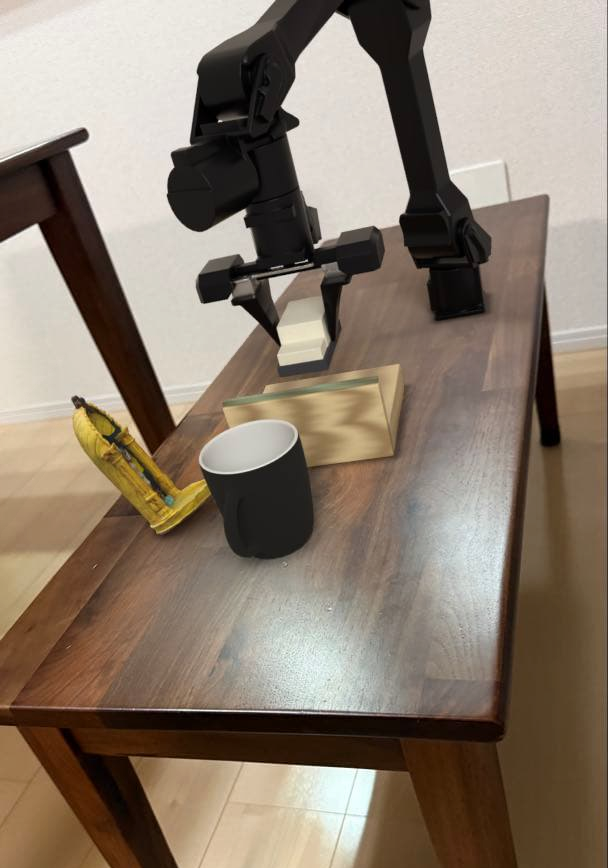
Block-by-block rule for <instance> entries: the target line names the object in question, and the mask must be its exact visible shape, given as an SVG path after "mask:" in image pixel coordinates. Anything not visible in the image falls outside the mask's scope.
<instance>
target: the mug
mask: <svg viewBox="0 0 608 868" xmlns="http://www.w3.org/2000/svg"><path fill="white" fill-rule="evenodd" d="M198 464H199V468H200V471H201V473H202V476H203V478H204V479H205V481H206V483H207V486H208V488H209V490H210V493H211V495H212V496H211V497H212V498H213V501H214V503H215V505H216V507H217V510H218V512H219V513H220V515H221V517H222V520H223V521H222V522H223V530H224V536H225V539H226V542H227V544H228V546H229V548H230V549H231V551H232V552H233V553H234V554H235V555H236V556H238V557H240V558H246V559H248V558H252V557H254V558H258V559H262V560H275V559H279V558H284V557H287V556H289V555H291V554H293V553H295V552H297V551H298V550H300V549H301V548H302V547H304V546H305V544H307V542H308V541H309V539H310V538H311V536H312V532H313V530H314V529H313V528H314V523H315V513H314V511H315V510H314V500H313V492H312V484H311V480H310V474H309V473H310V472H309V467H307V463H306V459H305V455H304V450H303V446H302V443H301V439H300V436H299V433H298V431H297V429H296V427H295V426H294V425H292V424H291V423H289V422H286V421H283V420H277V419H264V420H256V421H251V422H247V423H244V424H240V425H238V426H235V427H232V428H230V429H229V428H228V429H226V430H224V431H222V432H221V433H218V434H217V435H216V436H214V437H213V438H211V439H210V440H209V441H208V442H207V443H206V444H205V445H204V446H203V448H202V449H201V451H200V452H199V456H198ZM204 479H203V480H204Z"/></svg>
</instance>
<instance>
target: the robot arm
mask: <svg viewBox="0 0 608 868" xmlns="http://www.w3.org/2000/svg"><path fill="white" fill-rule="evenodd" d="M431 6H432V5H431V0H274V1H273V3H271V4H270V6H269V7H268V8H267V9H266V10H265V11H264V13H263V14H262V15H261V16H260V17H259V18H258V20H257V21H256V22H255V23H254V24H253V25H251V26H250V27H248V28H247V29H245V30H243V31H242V32H239V33H237V34H236V35H233V36H232V37H229V38H227V39H226V40H223V41H222V42H221V43H219V44H218V45H217V46H215V47H213V48H212V49H211V50H209V51H208V52H206V53H205V54H203V55H202V57H201V59H200V61H199V62H198V64H197V67H196V75H197V77H198V78H197V83H196V84H197V85H196V91H195V99H194V105H193V113H192V121H191V127H190V134H189V144H190V145H189V146H183V147H179V148H176V149H175V150H172V151H171V152H170V158H171V161H172V165H173V168H172V169H171V170H170V172H169V174H168V177H167V182H166V189H167V190H166V191H167V193H166V199H167V202H168V205H169V207H170V209H171V212H172V214H173V215H174V216H175V218H176V219H177V220H178V221H179V222H180V223H181V224H182V225H183V226H184V227H185V228H187V229H188V230H190V231H192V232H196V233H204V232H206V231H208V230H210V229H212V228H213V227H215V226H218V225H219V224H221V223H223V222H224V221H226V220H228V219H229V218H231V217H233V216H235V215H237V214H238V213H240V212H242V211H244V216H243V221H244V225H245V229H249V232H250V236H251V240H252V242H253V247H254V250H255V254H256V259H255V260H254V261H249V262H245V260H244V258H243V257H242V256H241V254H240V253H235V254H232V255H231V254H230V255H227V256H221V257H217V258H213V259H209V260H207V262H206V264H205V265H204V266H203V268H202V269H201V270H200V271H199V273H198V274H197V275H196V278H195V280H194V281H195V290H196V293H197V296H198V299H199V302H200V304H202V305H207V304H211V303H216V302H222V301H227V300H229V299H230V297H231V299H230V303H231V304H230V305H231V306H232V307H238V306H239V307H241V308H242V309H243V310H244V311H246V313H248V314H249V315H250V316H251V317H252V318H253V319H254V320H255V321H256V322H257V323H258V324H259V325H260V326H261V327H262V328H263V330H264V331H265V332H266V334H268V336H270V338H271V339H272V340H273V341H274V342H275V343H276V345H277V346H278V348H279V349H280V348H281V342H280V339H279V335H278V331H277V326H278V324H279V322H280V320H281V318H280V316H279V313H278V311H277V308H276V305H275V303H274V299H273V297H272V292H271V291H272V290H271V285H270V279H272V278H278V277H283V276H287V275H288V276H289V275H293V274H299V273H303V272H309V271H314V270H319V269H321V272H322V273H324V274H323V277H322V279H321V281H320V284H319V289H320V294H321V295H322V299H323V305H324V310H325V316H326V321H327V326H328V331H329V334H330V337H331V340H332V341H336V339H337V331H338V319H340V318H339V317H340V307H341V306H340V304H341V296H342V291H343V288H344V286H348V285H349V284H350V283H351V282H352V278H353V276H356V275H361V274H366V273H371V272H372V273H373V272H376V271H377V270H379V269H381V267H382V264H383V261H384V256H385V253H386V247H385V243H384V238H383V237H384V236H383V233H382V231H381V230H380V229H379V228H378V227H377V226H375V225H369V226H364V227H360V228H355V229H350V230H344V231H341V232H340V233H339V234H340V235H339V237H338V239H337V242H336V244H332V245H327V246H323V247H322V246H321V247H316V248H315V245H318V244H319V242H320V241H322V240H323V236H322V230H321V226H320V219H319V213H318V208H316V207H313V206H310V205H307V203H306V199H305V195H304V193H303V190H302V189H301V186H300V183H299V178H298V175H297V171H296V170H297V169H296V166H295V162H294V157H293V153H292V150H291V145H290V141H289V137H288V132H290V131H292V130H294V129H296V128H298V127H299V126H300V122H301V121H300V119H299V118H298V117H296V116H295V115H294V114H292V113H290V112H288V111H286V110H285V109H284V108H283V107H282V105H283V103H284V101H285V100H286V98H287V96H288V94H289V92H290V91H291V89H292V87H293V85H294V83H295V81H296V77H297V74H296V63H297V61H298V60H299V58H300V56H301V55H302V53H303V52H304V51H305V49H306V48H307V47H308V46H309V45H310V43H311V42H312V41H313V40H314V39H315V37H316V36H317V35H318V34H319V32H320V31H321V30H322V29H323V28H324V27H325V25H326V24H327V23H328V22H329V20H330V19H331V18H332V17H333V15H334V14H337V15H339V16H341V17H343V18H345V19H347V20H349V21H350V24H351V27H352V30H353V32H354V36H355V37H356V40H357V43H358V45H359V46H360V47H361V48H362V49H363V51H364V52H365V53H366V54H367V55H368V56H369V57H370V58H371V59H372V61H374V62H375V64H376V65H377V66H378V68H379V72H380V76H381V79H382V80H381V81H382V84H383V88H384V92H385V96H386V101H387V105H388V109H389V113H390V117H391V122H392V126H393V129H394V133H395V134H394V135H395V138H396V142H397V147H398V151H399V155H400V159H401V163H402V166H403V167H402V168H403V171H404V175H405V179H406V184H407V187H408V192H409V196H408V200H407V202H406V206H405V209H404V211H403V212H402V213H401V214H400V215H399V217H398V225H399V226H400V228H401V232H402V237H403V247H404V248H407V250H408V253H409V254H410V256H411V259H412V262H413V264H414V265H415V268H416V270H422V269H428V273H429V274H428V275H427V277H426V290H427V294H428V300H429V307H430V311H431V312H432V313H434V320H435V321H441V320H447V319H452V318H453V319H454V318H459V317H463V316H470V315H476V314H481V313H484V312H486V291H485V290H484V286H483V277H482V272H481V265H484V264H486V263H487V264H488V262H489V257H490V256H491V255H492V248H493V247H492V241H493V240H492V236H491V235H490V234H489V233H488V232H487V231H486V230H485V229H484V227H482V226H481V225H480V224H479V223H478V222H477V221H476V219H475V217H474V215H473V211H472V208H471V204H470V201H469V199H468V197H467V196H466V195H465V194H464V193H463V192H462V191H461V190H460V189H459V187H458V186H457V185H456V184H455V183H454V182H453V181H452V180H451V177H450V172H449V168H448V162H447V158H446V154H445V153H446V152H445V148H444V143H443V139H442V134H441V129H440V124H439V119H438V114H437V110H436V105H435V101H434V97H433V91H432V86H431V82H430V77H429V72H428V67H427V62H426V58H425V51H424V47H425V43H426V40H427V36H428V33H429V30H430V25H431V22H432V18H433V17H432V8H431Z"/></svg>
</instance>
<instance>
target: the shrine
mask: <svg viewBox="0 0 608 868" xmlns="http://www.w3.org/2000/svg"><path fill="white" fill-rule="evenodd" d="M70 401H71V403H72V405H74V407H75V408H74V410H73V412H72V417H71V421H72V428H73V431H74V434H75V437H76V439H77V441H78V443H79V445H80V447H81V449H82V450H83V452H84V453H85V454H86V455H87V457H88V458H89V459H90V461H91V462H92V463H93V465H95V467H96V468H97V469H98V470H99V471H100V472H101V473H102V475H104V477H106V479H107V480H108V481H109V482H110V483H111V484H112V485H113V486H114V487H115V488H116V489H117V490H118V491H119V492H120V493H121V494H122V495H123V497H125V498H126V499H127V500H128V501H129V502H130V504H131V505H133V507H134V508H135V509H136V510H137V511H138V512H139V513H140V514H141V516H143V518H145V520H147V522H148V523H149V524H150V525H149V526H150V529H153V530H154V531H155V534H156V535H158V536H163V535H165V534H167V533H170V532H171V531H172V530H173V529H174V528H175V527H177V526H178V525H180V524H181V523H183V522H184V521H185V520H186V519H188V518H190V517H191V516H192V515H193V514H194V513H196V512H197V510H199V509H200V508H201V507H202V506H203V504H205V503H206V502H207V501H208V499H210V498H211V497H212V495H211V493H210V490H209V488H208V486H207V483H206V481H205V479H202V480H198V481H195V482H192V483H190V484H189V485H187V486H186V487H185V488H183V489H181V490H180V489H178V487H176V486H175V484H174V482H173V480H171V479H170V478H169V476H168V475H167V474H165V473H164V472H163V471H162V470H161V469H160V467H158V465H157V464H156V462H155V461H154V460H153V459H152V458H151V456H150V455H149V454H148V453H147V452H146V451H145V450H144V448H143V447H142V446H140V445H139V443H138V442H137V441H136V438H135V437H133V436H132V434H130V431H129V427H128V426H127V425H125V426H124V427H123V426H122V424H120V423H119V422H118V421H116V420H115V418H114V417H113V416H111V415H110V413H106V410H103V409H102V408H99V407H98V406H97V405H95V403H92V402H87V401H86V399H85V398H84V397H82V396H78V395H77V394H74V395H73V396H71V397H70Z"/></svg>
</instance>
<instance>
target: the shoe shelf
mask: <svg viewBox="0 0 608 868" xmlns="http://www.w3.org/2000/svg"><path fill="white" fill-rule="evenodd" d="M402 373H403V372H402V368H401V363H396V364H390V365H389V364H388V365H383V366H377V367H371V368H365V369H357V370H353V371H346V372H340V373H334V374H328V375H322V376H315V377H308V378H303V379H296V380H291V381H284V382H278V383H271V384H266V385H265V388H264V390H263V391H262V393H258V394H253V395H246V396H239V397H233V398H227V399H222V401H221V404H222V411H223V414H224V417H225V420H226V422H227V426H228V429H230V428H232V427H235V426H238V425H240V424H244V423H247V422H251V421H256V420H264V419H277V420H283V421H286V422H289V423H291V424H292V425H294V426H295V427H296V429H297V431H298V433H299V436H300V439H301V443H302V446H303V450H304V455H305V459H306V463H307V468H311V467H312V468H313V467H318V466H326V465H327V466H328V465H333V464H341V463H349V462H355V461H356V462H358V461H364V460H373V459H379V458H380V459H381V458H387V457H389V458H390V457H393V456H394V455H395V450H396V443H397V437H398V429H399V424H400V418H401V412H402V407H403V406H402V404H403V398H404V391H405V384H404V378H403V374H402Z"/></svg>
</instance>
